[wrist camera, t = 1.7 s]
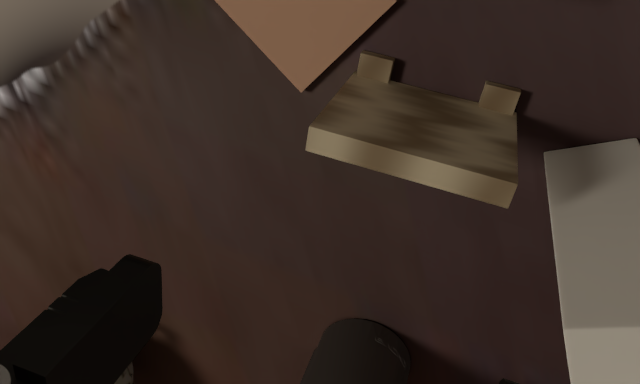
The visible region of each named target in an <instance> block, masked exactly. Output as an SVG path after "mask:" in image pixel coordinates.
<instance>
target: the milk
mask: <svg viewBox="0 0 640 384" xmlns="http://www.w3.org/2000/svg"><path fill="white" fill-rule="evenodd" d="M544 163H545V172H546V181H547V190H548V199H549V208H550V217H551V226H552V235H553V244H554V253H555V262H556V271H557V279H558V288H559V297H560V306H561V315H562V324H563V333H564V340H565V347H566V354H567V361H568V368H569V374H570V381H571V384H640V144H639V142H638V140H637V138H632V139H625V140H619V141H612V142H606V143H599V144H593V145H586V146H580V147H573V148H567V149H560V150H553V151H547V152H544Z"/></svg>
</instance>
